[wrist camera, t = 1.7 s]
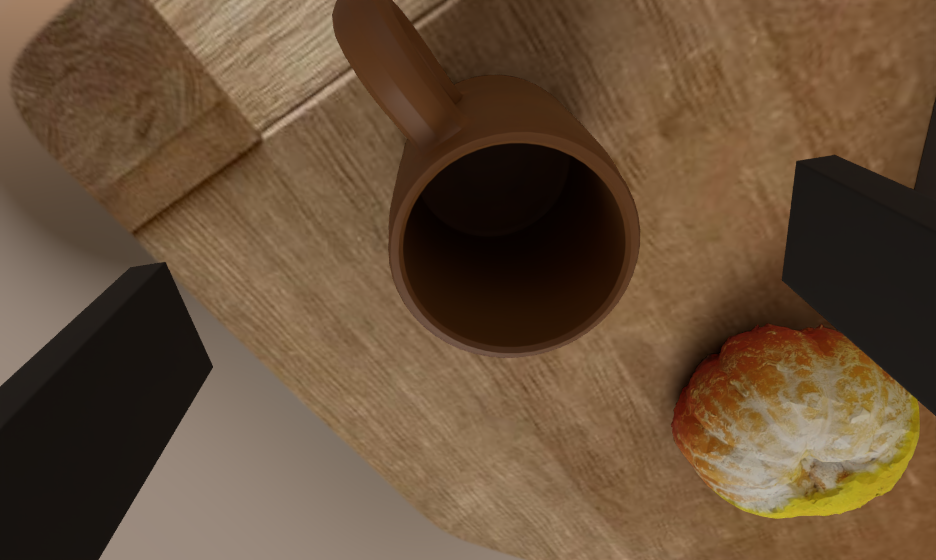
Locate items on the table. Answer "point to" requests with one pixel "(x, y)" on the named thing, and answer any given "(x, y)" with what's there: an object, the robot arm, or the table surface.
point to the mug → (491, 198)
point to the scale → (928, 162)
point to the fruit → (795, 423)
